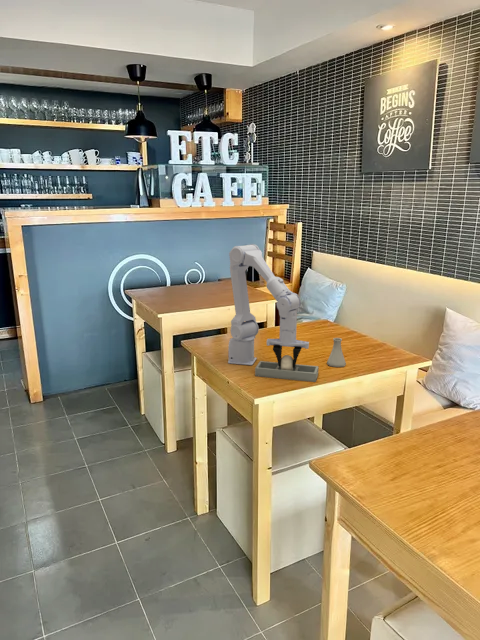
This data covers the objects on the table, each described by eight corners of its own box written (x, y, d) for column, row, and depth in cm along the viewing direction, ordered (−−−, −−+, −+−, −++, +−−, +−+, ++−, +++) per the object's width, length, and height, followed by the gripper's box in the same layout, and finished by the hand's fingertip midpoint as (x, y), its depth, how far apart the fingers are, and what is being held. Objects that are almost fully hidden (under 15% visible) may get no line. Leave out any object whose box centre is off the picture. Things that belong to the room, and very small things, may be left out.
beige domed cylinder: (279, 371, 172) (279, 356, 170) (281, 367, 176) (282, 352, 174) (292, 372, 170) (292, 357, 169) (294, 368, 175) (294, 354, 173)
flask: (344, 361, 188) (346, 336, 185) (347, 368, 181) (348, 342, 178) (325, 360, 188) (326, 335, 186) (327, 367, 181) (328, 341, 179)
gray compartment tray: (255, 376, 173) (255, 368, 172) (259, 368, 180) (259, 361, 179) (315, 382, 167) (316, 373, 167) (318, 374, 174) (318, 366, 174)
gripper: (310, 327, 171) (309, 364, 175) (269, 324, 175) (269, 360, 178) (307, 332, 165) (306, 370, 168) (265, 329, 168) (265, 367, 172)
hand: (287, 366), depth 173 cm, fingers closed on beige domed cylinder, 4 cm apart
